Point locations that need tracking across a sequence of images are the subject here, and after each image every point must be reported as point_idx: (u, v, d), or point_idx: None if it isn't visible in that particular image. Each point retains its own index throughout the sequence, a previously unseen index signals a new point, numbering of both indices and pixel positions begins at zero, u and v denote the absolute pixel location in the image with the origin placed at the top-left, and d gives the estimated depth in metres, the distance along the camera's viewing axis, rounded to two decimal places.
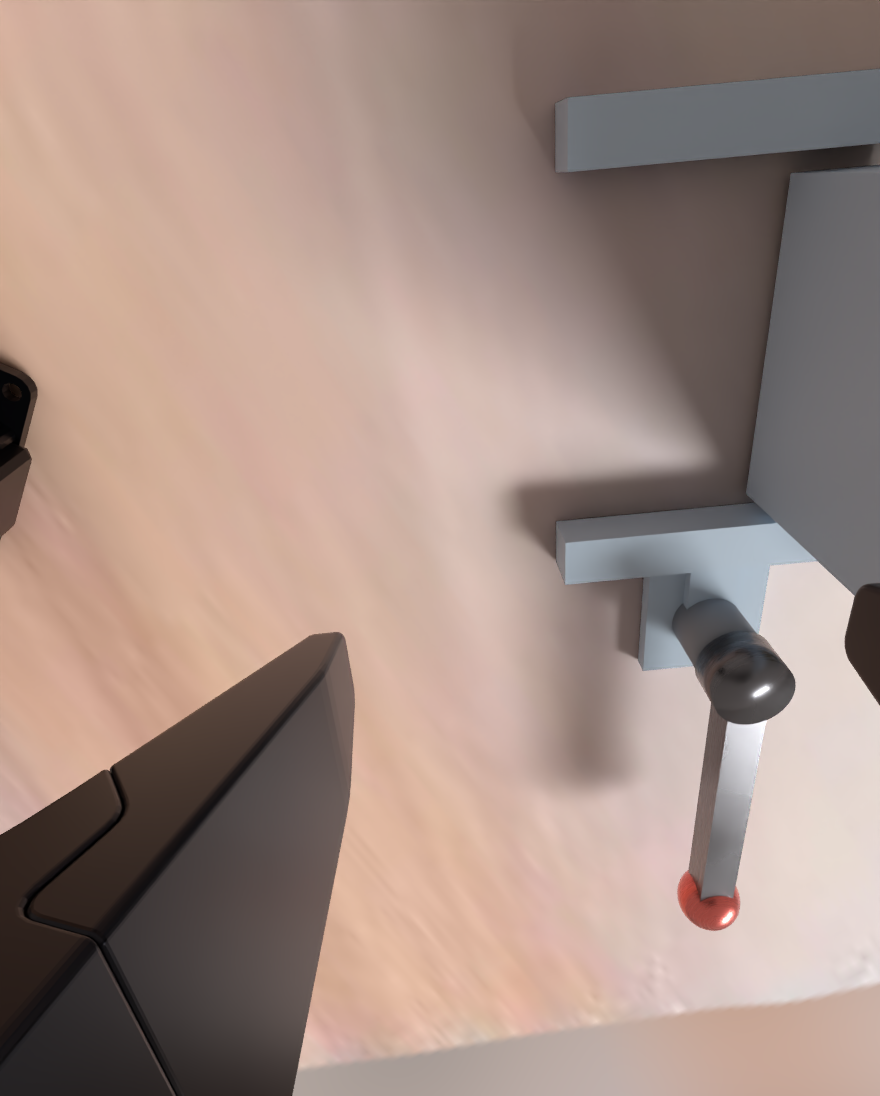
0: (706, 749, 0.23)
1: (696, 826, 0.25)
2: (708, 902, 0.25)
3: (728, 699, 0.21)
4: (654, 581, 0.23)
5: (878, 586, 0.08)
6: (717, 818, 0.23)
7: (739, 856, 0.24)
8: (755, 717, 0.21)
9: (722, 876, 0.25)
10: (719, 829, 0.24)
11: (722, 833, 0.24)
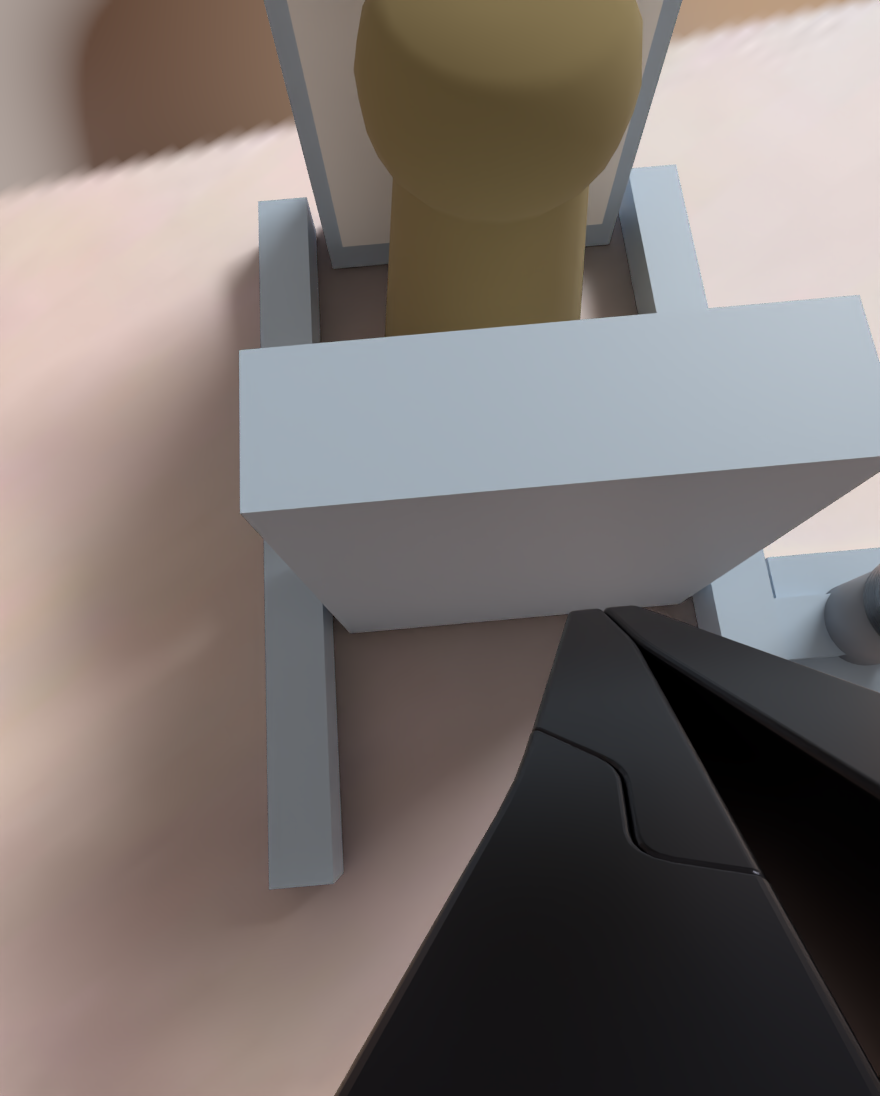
0: None
1: None
2: None
3: None
4: None
5: (612, 610, 0.08)
6: None
7: None
8: None
9: None
10: None
11: None
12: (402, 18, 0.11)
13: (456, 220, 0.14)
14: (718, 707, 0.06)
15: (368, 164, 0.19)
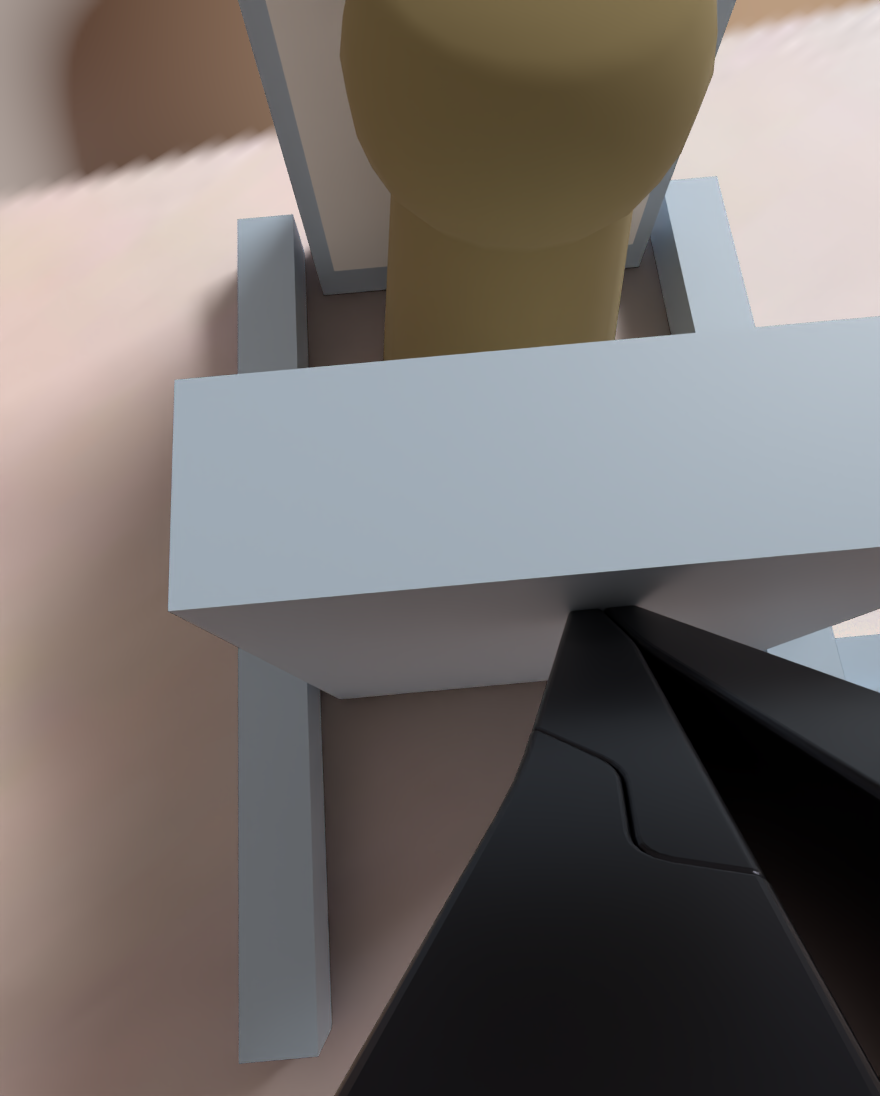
0: None
1: None
2: None
3: None
4: None
5: (612, 610, 0.08)
6: None
7: None
8: None
9: None
10: None
11: None
12: None
13: (470, 246, 0.11)
14: (718, 706, 0.06)
15: (362, 177, 0.16)
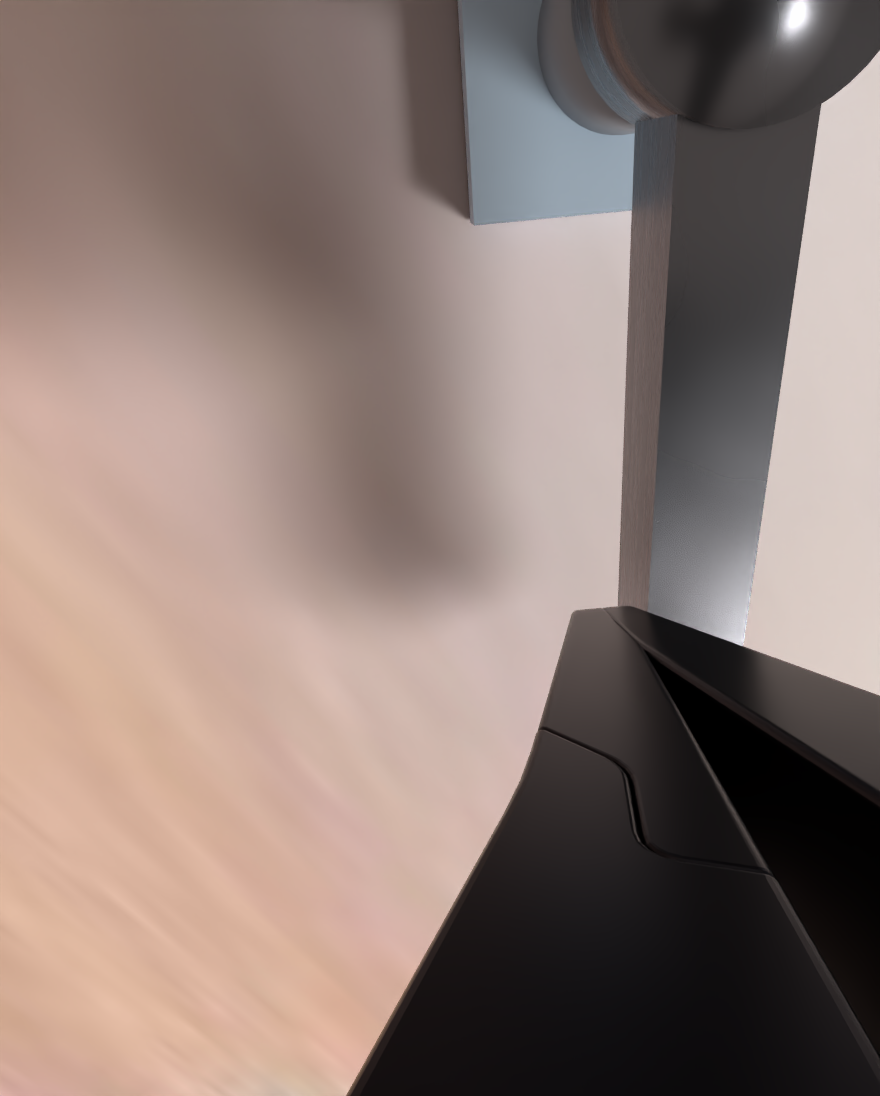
0: (629, 363, 0.08)
1: None
2: None
3: None
4: None
5: (608, 610, 0.08)
6: (664, 569, 0.08)
7: None
8: (778, 90, 0.06)
9: None
10: (671, 607, 0.08)
11: (681, 622, 0.08)
12: None
13: None
14: (713, 708, 0.06)
15: None
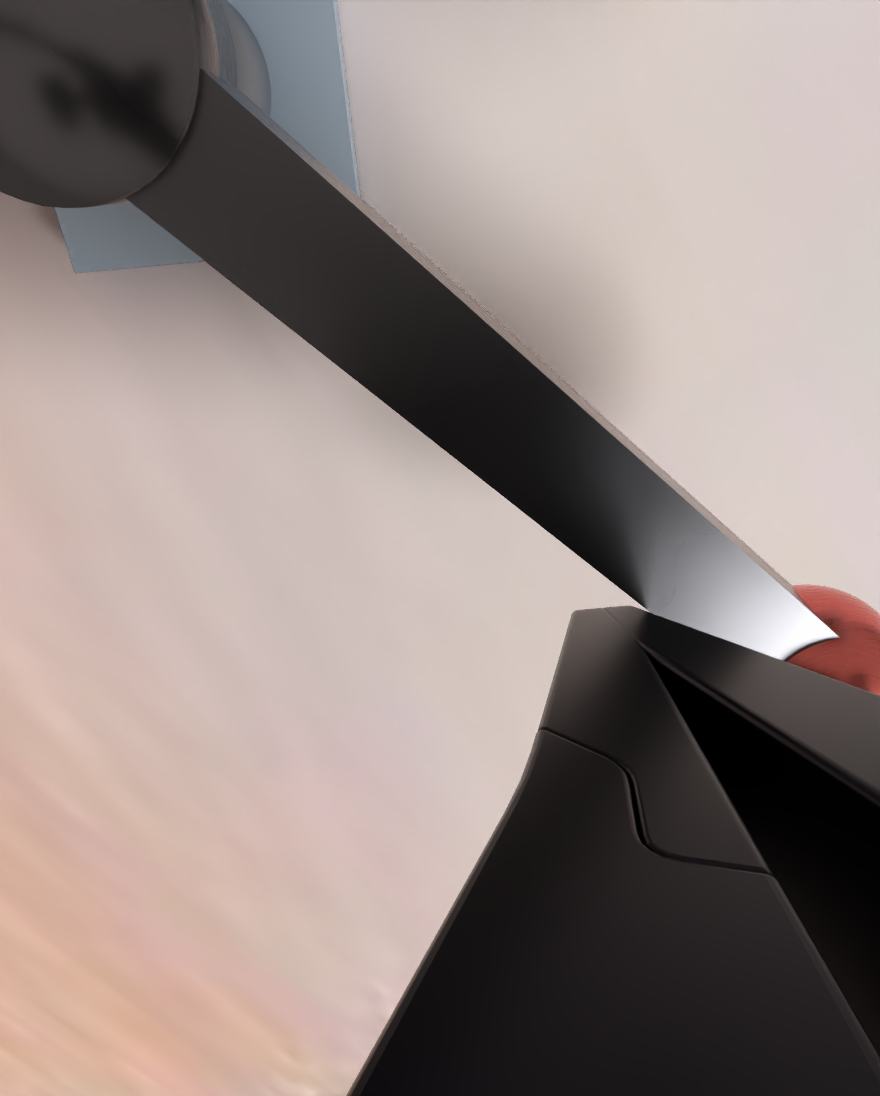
0: None
1: None
2: None
3: (2, 132, 0.06)
4: None
5: (608, 610, 0.08)
6: (520, 488, 0.07)
7: (714, 532, 0.08)
8: (157, 107, 0.05)
9: (737, 609, 0.08)
10: (562, 510, 0.07)
11: (585, 513, 0.07)
12: None
13: None
14: (713, 708, 0.06)
15: None
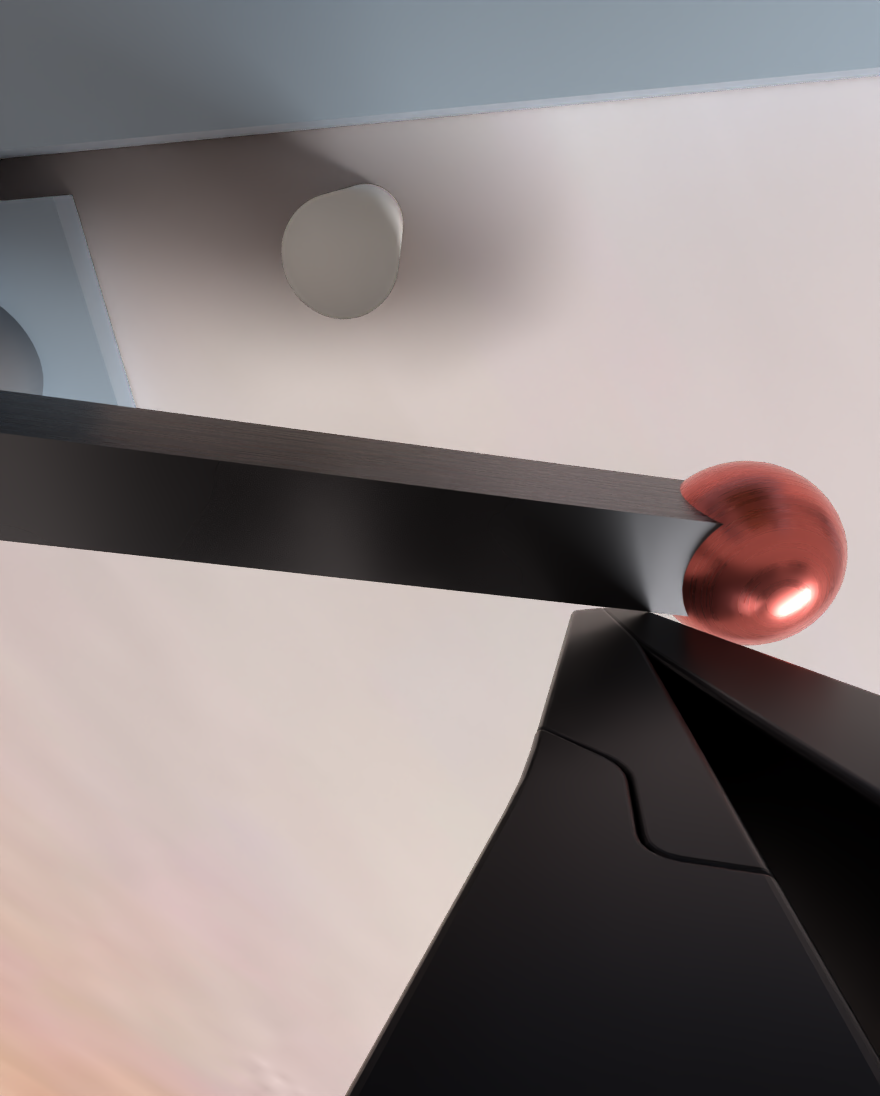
0: None
1: None
2: (692, 602, 0.08)
3: None
4: None
5: (608, 611, 0.08)
6: (312, 559, 0.08)
7: (511, 502, 0.07)
8: None
9: (593, 552, 0.08)
10: (360, 557, 0.08)
11: (382, 549, 0.07)
12: None
13: None
14: (713, 708, 0.06)
15: None
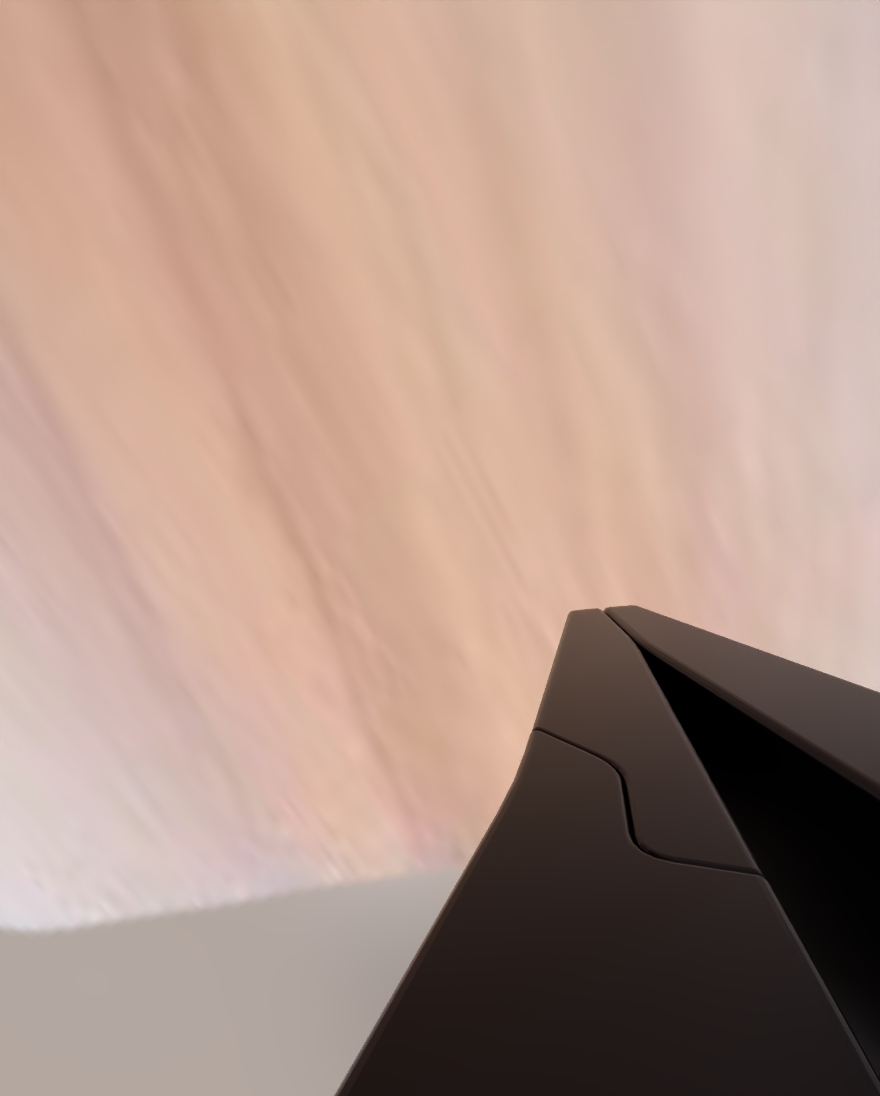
0: None
1: None
2: None
3: None
4: None
5: (612, 610, 0.08)
6: None
7: None
8: None
9: None
10: None
11: None
12: None
13: None
14: (718, 706, 0.06)
15: None
